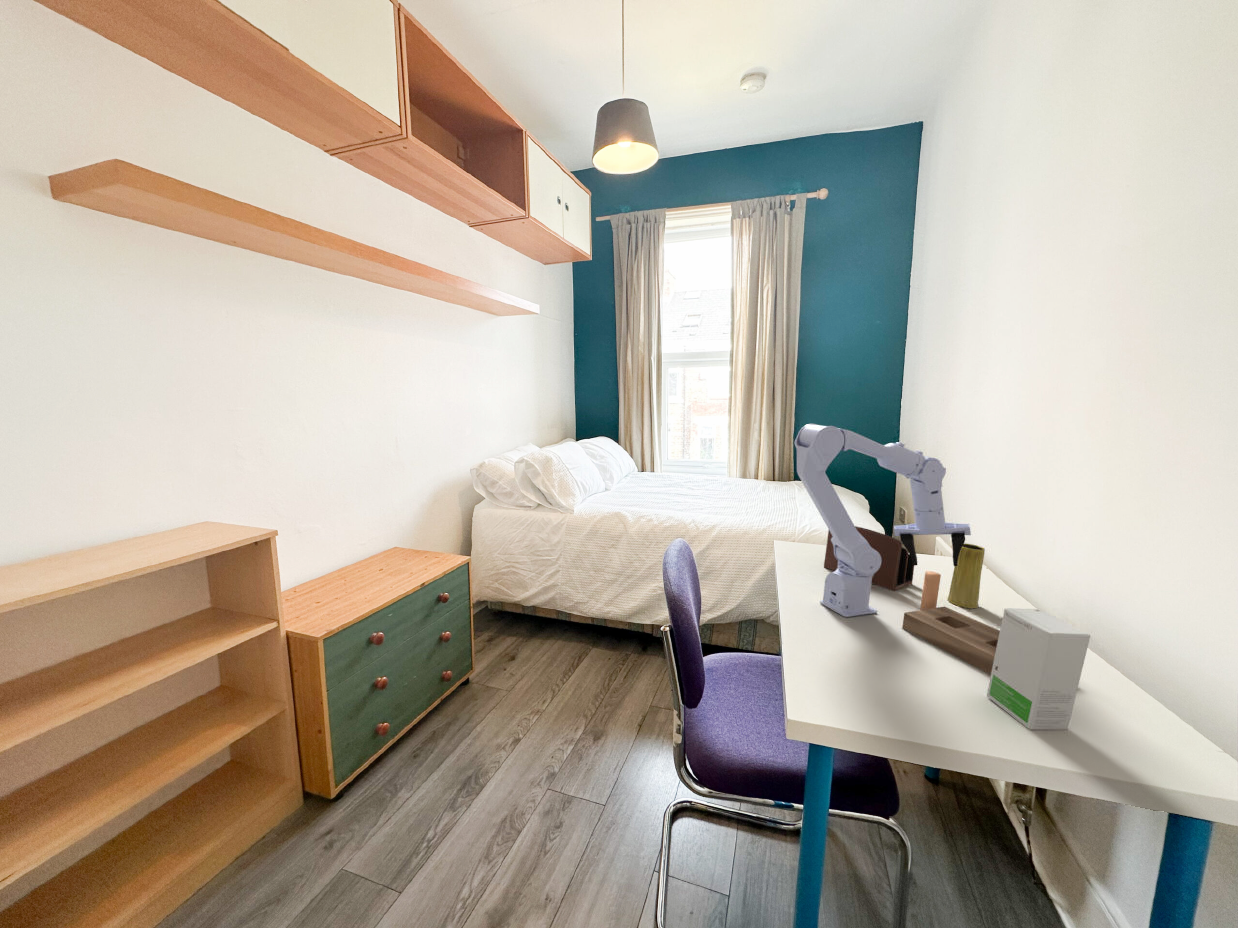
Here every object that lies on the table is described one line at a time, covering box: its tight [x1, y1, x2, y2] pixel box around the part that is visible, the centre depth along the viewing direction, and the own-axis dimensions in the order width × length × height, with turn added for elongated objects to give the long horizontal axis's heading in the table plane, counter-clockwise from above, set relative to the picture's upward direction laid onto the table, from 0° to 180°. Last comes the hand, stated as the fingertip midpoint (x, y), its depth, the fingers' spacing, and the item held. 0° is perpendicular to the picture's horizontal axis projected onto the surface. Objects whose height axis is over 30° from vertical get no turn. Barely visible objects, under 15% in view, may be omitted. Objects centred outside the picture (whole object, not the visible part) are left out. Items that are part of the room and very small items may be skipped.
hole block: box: [901, 606, 1000, 675], centre depth 94 cm, size 12×22×4 cm, turn 20°
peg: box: [919, 571, 942, 610], centre depth 111 cm, size 3×3×9 cm
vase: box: [947, 542, 986, 609], centre depth 116 cm, size 6×6×14 cm
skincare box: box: [986, 607, 1092, 731], centre depth 74 cm, size 8×7×16 cm
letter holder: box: [823, 525, 915, 592], centre depth 133 cm, size 10×20×14 cm, turn 36°
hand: (935, 563), depth 111 cm, fingers open, 7 cm apart
